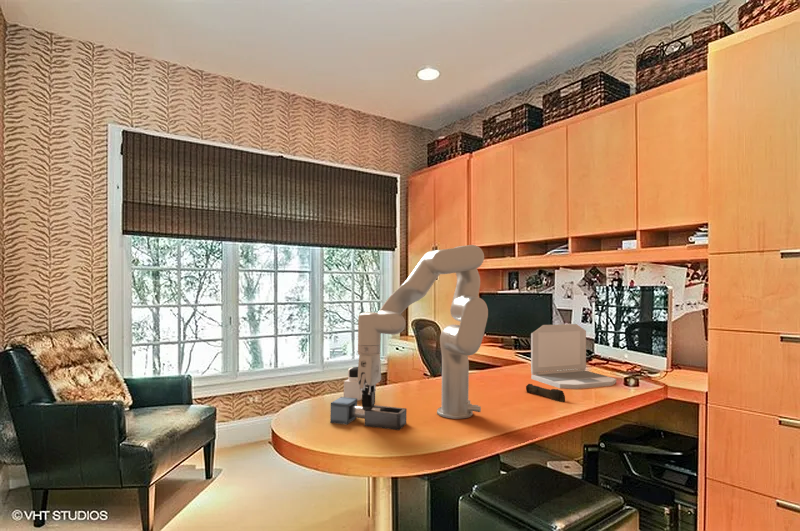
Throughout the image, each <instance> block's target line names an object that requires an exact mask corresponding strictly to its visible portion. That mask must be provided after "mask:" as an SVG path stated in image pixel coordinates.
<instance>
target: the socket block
mask: <svg viewBox="0 0 800 531" xmlns="http://www.w3.org/2000/svg"><path fill="white" fill-rule="evenodd" d="M351 405H353V406H358V400H357V398H347V397H344V396H340V397H339V398H337V399H335V400H333V401H331V402H330V417H329V418H330V420H329V422H330V424H338V425H339V424H340V425H348V424H350V423H351V422H353V421H354V420H355V419H357V418H353V417H349V406H351Z"/></svg>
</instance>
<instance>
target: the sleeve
mask: <svg viewBox="0 0 800 531" xmlns="http://www.w3.org/2000/svg"><path fill="white" fill-rule="evenodd" d="M374 408H381V410H382V411H375V410H365V419H364V427H369V428H377V429H386V430H395V431H401V430H402V429H403V427H405V426H406V425H407V408H404V407H396V406H387V405H386V406H384V405H377V404H374ZM404 425H405V426H404Z"/></svg>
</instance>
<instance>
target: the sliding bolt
mask: <svg viewBox="0 0 800 531" xmlns="http://www.w3.org/2000/svg"><path fill="white" fill-rule="evenodd" d="M371 395H372V405H371V407H364V406H362V405H357V406H353V405H351V406H349V417H353V418H356V419H364V420H365V410H375V411H382V410H381V408H374V405H375V404H374V391H371Z"/></svg>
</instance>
